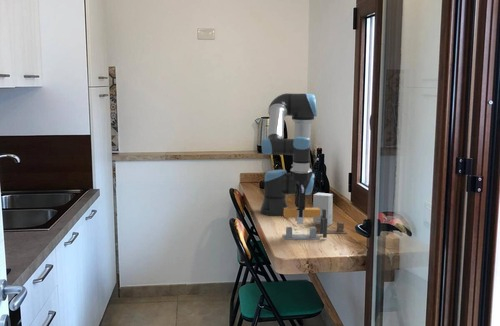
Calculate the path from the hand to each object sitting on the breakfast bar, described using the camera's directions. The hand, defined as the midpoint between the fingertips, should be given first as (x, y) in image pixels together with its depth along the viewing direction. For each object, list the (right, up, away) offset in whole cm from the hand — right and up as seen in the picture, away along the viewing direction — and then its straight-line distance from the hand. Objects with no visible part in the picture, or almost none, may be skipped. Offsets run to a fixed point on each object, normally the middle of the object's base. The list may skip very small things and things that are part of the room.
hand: (299, 222), depth 234 cm
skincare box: (+14, -4, +25) cm, 29 cm away
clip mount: (+1, -7, +1) cm, 7 cm away
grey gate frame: (+11, -7, +1) cm, 13 cm away
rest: (+15, -6, +11) cm, 19 cm away
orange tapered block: (+1, +3, 0) cm, 3 cm away
